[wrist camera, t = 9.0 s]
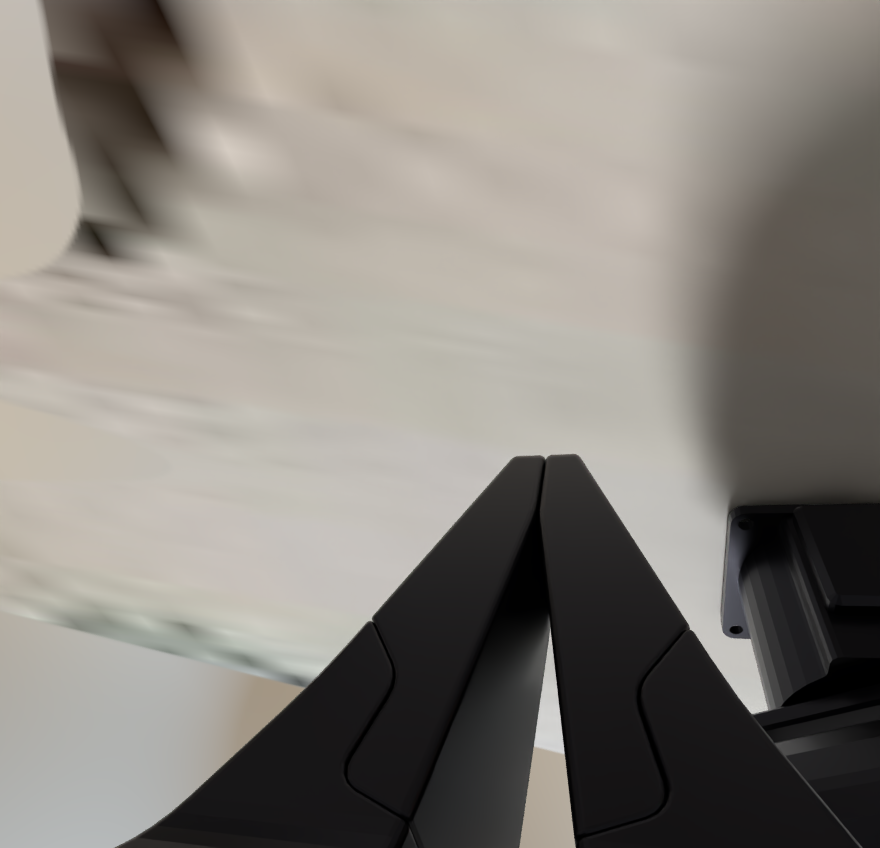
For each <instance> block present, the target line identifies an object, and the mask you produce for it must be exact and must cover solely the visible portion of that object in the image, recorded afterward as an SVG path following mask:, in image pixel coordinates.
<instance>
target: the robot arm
mask: <svg viewBox="0 0 880 848" xmlns="http://www.w3.org/2000/svg"><path fill="white" fill-rule="evenodd" d="M743 519H750V520H749V521H747V522H740V521H741V520H743ZM372 621H373V622H372ZM372 621H368V622H367V623H366V624H365V625H364V626H363V627H362V629H361V630H360V631H359V632H358V633H357V634H356V635H355V637H354V638H353V639H352V640H351V641H350V642H349V643H348V644H347V645H346V646H345V648H344V649H343V650H342V651H341V652H340V653H339V654H338V655H337V656H336V657H335V658H334V659H333V660H332V661H331V663H330V664H329V665H328V666H327V667H326V668H325V669H324V670H323V671H322V672H321V673H320V674H319V675H318V676H317V677H316V678H315V679H314V680H313V681H312V682H311V683H310V684H309V685H308V686H307V687H306V688H305V689H304V690H303V691H302V692H301V693H300V694H299V695H298V696H297V697H296V698H295V699H294V700H293V701H291V702H290V703H289V704H288V705H287V706H286V708H284V709H283V710H282V711H281V712H280V713H279V714H278V715H277V716H276V717H275V718H274V719H273V720H271V721H270V722H269V723H268V724H267V725H266V726H265V727H264V728H263V729H262V730H261V731H260V732H258V734H256V735H255V736H254V737H253V738H252V739H251V740H250V741H249V742H248V743H247V744H245V746H243V747H242V748H241V749H240V750H239V751H238V752H237V753H236V754H235V755H234V756H233V757H231V758H230V760H228V761H227V762H226V763H225V764H224V765H223V766H222V767H221V768H220V769H219V770H217V771H216V772H215V773H214V774H213V775H212V776H211V777H210V778H209V779H208V780H207V781H206V782H204V783H203V784H202V785H201V786H200V787H199V788H198V789H197V790H196V791H195V792H194V793H193V794H192V795H190V796H189V797H188V798H187V799H186V800H185V801H183V802H182V803H181V804H180V805H179V806H178V807H176V808H175V809H174V810H173V811H172V812H171V813H169V814H168V815H167V816H165V817H164V818H162V819H161V820H160V821H158V822H157V823H156V824H154V825H153V826H152V827H150V828H149V829H147V830H145V831H144V832H142V833H141V834H139V835H138V836H136V837H134V838H132V839H131V840H129V841H127V842H125V843H123V844H121V845H119V846H117V847H115V848H519V845H520V838H521V831H522V824H523V817H524V810H525V803H526V796H527V789H528V782H529V774H530V768H531V761H532V754H533V747H534V740H535V733H536V726H537V719H538V712H539V705H540V698H541V691H542V684H543V677H544V670H545V663H546V656H547V649H548V642H549V633H550V627H551V636H552V645H553V654H554V663H555V671H556V680H557V689H558V698H559V707H560V715H561V724H562V733H563V742H564V751H565V759H566V768H567V777H568V786H569V794H570V803H571V812H572V821H573V830H574V838H575V845H576V848H880V504H820V505H760V506H740V507H737V508H735V509H733V510H732V511H731V512H730V514H729V517H728V530H727V544H726V557H725V571H724V584H723V598H722V612H721V625H722V630H723V633H724V634H725V635H726V636H728V637H730V638H742V639H751V642H752V646H753V650H754V654H755V658H756V662H757V666H758V670H759V674H760V678H761V682H762V686H763V690H764V694H765V698H766V702H767V706H768V710H767V711H763V712H759V713H755V714H751V713H750V712H749V710H748V709H747V708H746V707H745V705H744V704H743V703H742V702H741V700H740V699H739V698H738V696H737V695H736V693H735V692H734V691H733V689H732V688H731V686H730V685H729V683H728V682H727V681H726V679H725V678H724V676H723V675H722V673H721V672H720V671H719V669H718V668H717V666H716V665H715V663H714V662H713V661H712V659H711V658H710V656H709V655H708V653H707V652H706V650H705V649H704V647H703V645H702V644H701V642H700V641H699V639H698V638H697V636H696V635H695V633H694V632H693V631H692V630H690V627H689V624H688V623H687V621H686V620H685V618H684V617H683V615H682V614H681V612H680V611H679V609H678V608H677V606H676V604H675V603H674V601H673V600H672V598H671V597H670V595H669V594H668V592H667V591H666V589H665V587H664V586H663V584H662V583H661V581H660V580H659V578H658V577H657V575H656V574H655V572H654V570H653V569H652V567H651V566H650V564H649V563H648V561H647V560H646V558H645V557H644V555H643V553H642V552H641V550H640V549H639V547H638V546H637V544H636V543H635V541H634V540H633V538H632V537H631V535H630V533H629V532H628V530H627V529H626V527H625V526H624V524H623V523H622V521H621V520H620V518H619V516H618V515H617V513H616V512H615V510H614V509H613V507H612V506H611V504H610V503H609V501H608V499H607V498H606V496H605V495H604V493H603V492H602V490H601V489H600V487H599V486H598V484H597V483H596V481H595V479H594V478H593V476H592V475H591V473H590V472H589V470H588V469H587V467H586V466H585V464H584V462H583V461H582V459H581V458H580V457H579V456H578V455H576V454H564V455H550V456H548V457H547V459H545V458H544V457H543V456H540V455H537V456H516V457H514V458H512V459H511V460H510V462H509V463H508V464H507V465H506V466H505V467H504V468H503V470H502V471H501V472H500V473H499V474H498V475H497V476H496V477H495V479H494V480H493V481H492V482H491V483H490V484H489V485H488V486H487V488H486V489H485V490H484V491H483V492H482V493H481V494H480V496H479V497H478V498H477V499H476V500H475V501H474V502H473V503H472V505H471V506H470V507H469V508H468V509H467V510H466V511H465V512H464V514H463V515H462V516H461V517H460V518H459V519H458V520H457V522H456V523H455V524H454V525H453V526H452V527H451V528H450V529H449V531H448V532H447V533H446V534H445V535H444V536H443V537H442V539H441V540H440V541H439V542H438V543H437V544H436V545H435V546H434V548H433V549H432V550H431V551H430V552H429V553H428V554H427V555H426V557H425V558H424V559H423V560H422V561H421V562H420V563H419V565H418V566H417V567H416V568H415V569H414V570H413V571H412V572H411V574H410V575H409V576H408V577H407V578H406V579H405V580H404V581H403V583H402V584H401V585H400V586H399V587H398V588H397V589H396V591H395V592H394V593H393V594H392V595H391V596H390V597H389V598H388V600H387V601H386V602H385V603H384V604H383V605H382V606H381V607H380V609H379V610H378V611H377V612H376V613H375V614H374V615H373V617H372ZM736 625H737V626H736Z"/></svg>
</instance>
